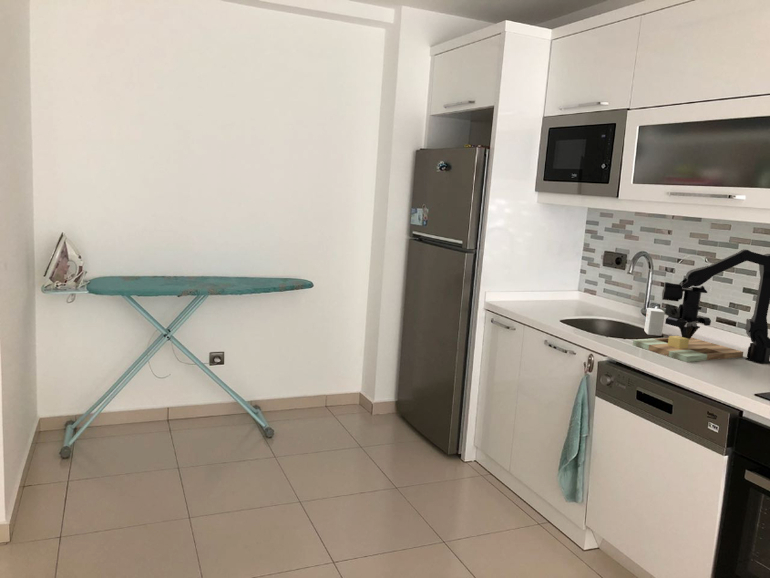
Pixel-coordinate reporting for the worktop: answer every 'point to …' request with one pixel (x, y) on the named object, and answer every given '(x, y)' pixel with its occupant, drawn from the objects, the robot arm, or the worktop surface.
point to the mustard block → (678, 342)
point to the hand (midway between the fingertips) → (684, 343)
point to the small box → (654, 321)
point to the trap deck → (689, 349)
